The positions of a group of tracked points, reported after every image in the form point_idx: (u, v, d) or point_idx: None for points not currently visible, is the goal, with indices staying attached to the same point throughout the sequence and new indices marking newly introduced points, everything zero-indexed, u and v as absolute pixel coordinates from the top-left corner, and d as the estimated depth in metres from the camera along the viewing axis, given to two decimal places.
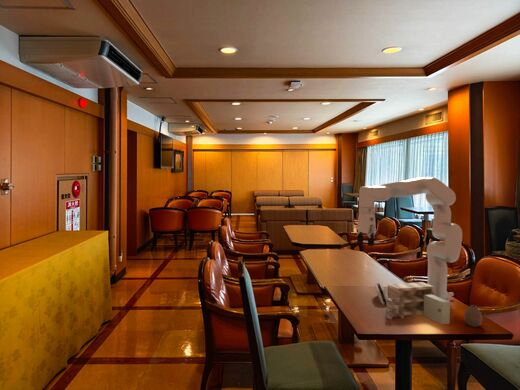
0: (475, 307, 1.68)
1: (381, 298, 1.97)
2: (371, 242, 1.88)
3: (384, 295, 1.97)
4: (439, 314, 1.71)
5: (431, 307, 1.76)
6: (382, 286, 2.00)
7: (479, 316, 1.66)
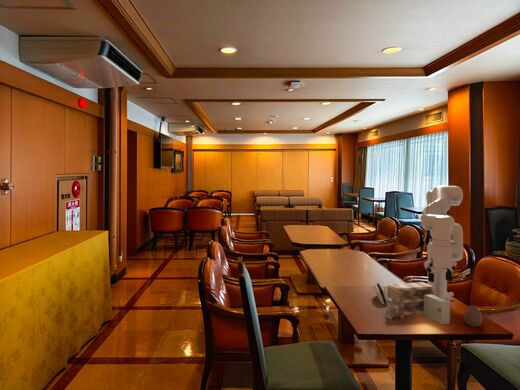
0: (475, 307, 1.68)
1: (381, 298, 1.97)
2: None
3: (384, 295, 1.97)
4: (439, 314, 1.71)
5: (431, 307, 1.76)
6: (382, 286, 2.00)
7: (479, 316, 1.66)
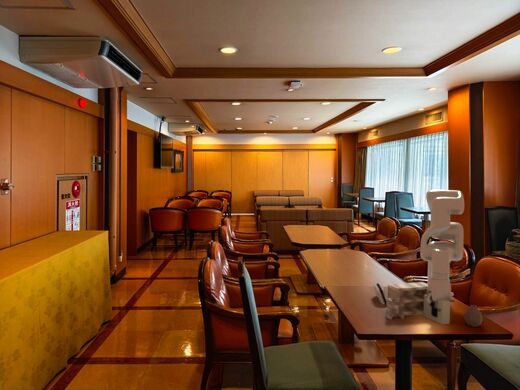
0: (475, 307, 1.68)
1: (381, 298, 1.97)
2: None
3: (384, 295, 1.97)
4: (439, 314, 1.71)
5: None
6: (382, 286, 2.00)
7: (479, 316, 1.66)
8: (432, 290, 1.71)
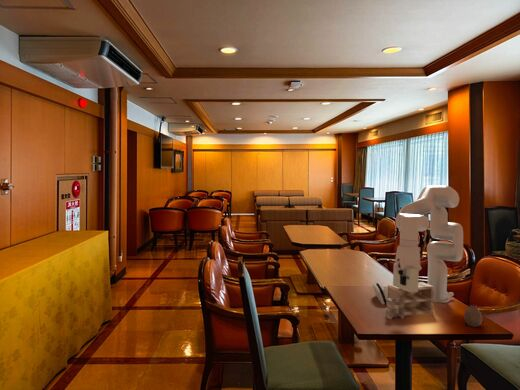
0: (475, 307, 1.68)
1: (382, 298, 1.96)
2: None
3: (384, 295, 1.96)
4: (407, 282, 1.66)
5: None
6: (382, 286, 2.00)
7: (479, 316, 1.66)
8: (400, 257, 1.67)
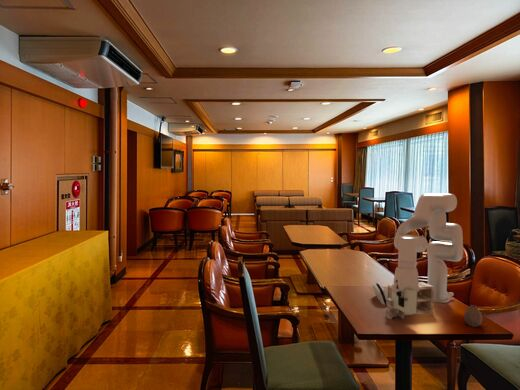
0: (475, 307, 1.68)
1: (382, 298, 1.96)
2: None
3: (385, 295, 1.96)
4: (406, 304, 1.66)
5: None
6: (382, 286, 2.00)
7: (479, 316, 1.66)
8: (398, 279, 1.67)
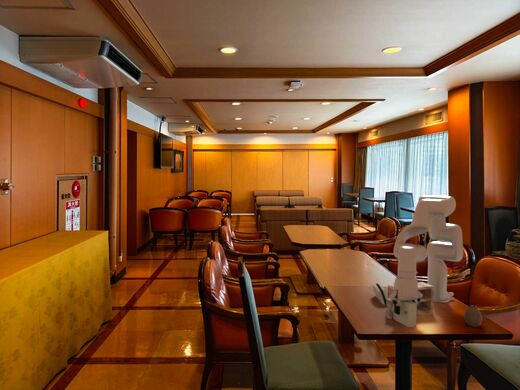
0: (475, 307, 1.68)
1: (382, 299, 1.96)
2: None
3: (385, 295, 1.96)
4: (405, 317, 1.67)
5: None
6: (382, 286, 2.00)
7: (479, 316, 1.66)
8: (398, 289, 1.67)
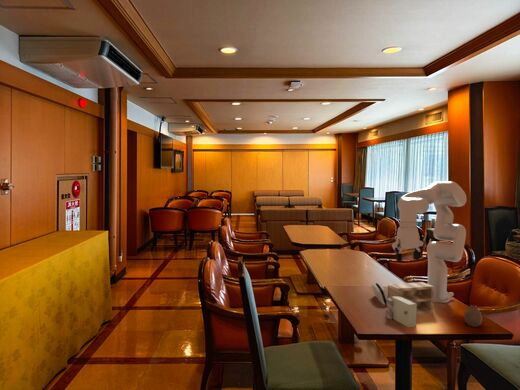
0: (475, 307, 1.68)
1: (382, 299, 1.96)
2: None
3: (385, 296, 1.96)
4: (405, 317, 1.67)
5: (398, 309, 1.71)
6: (382, 286, 1.99)
7: (479, 316, 1.66)
8: (401, 238, 1.79)
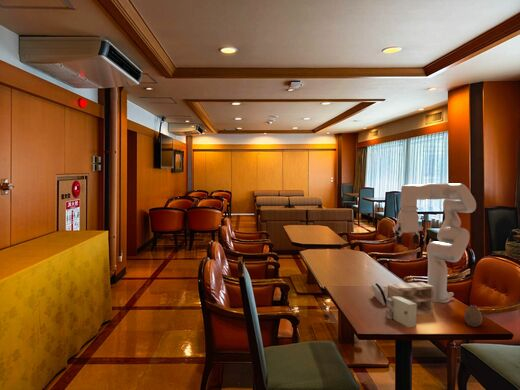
0: (475, 307, 1.68)
1: (382, 299, 1.96)
2: None
3: (385, 296, 1.96)
4: (405, 317, 1.67)
5: (398, 309, 1.71)
6: (382, 287, 1.99)
7: (479, 316, 1.66)
8: (401, 222, 1.89)
